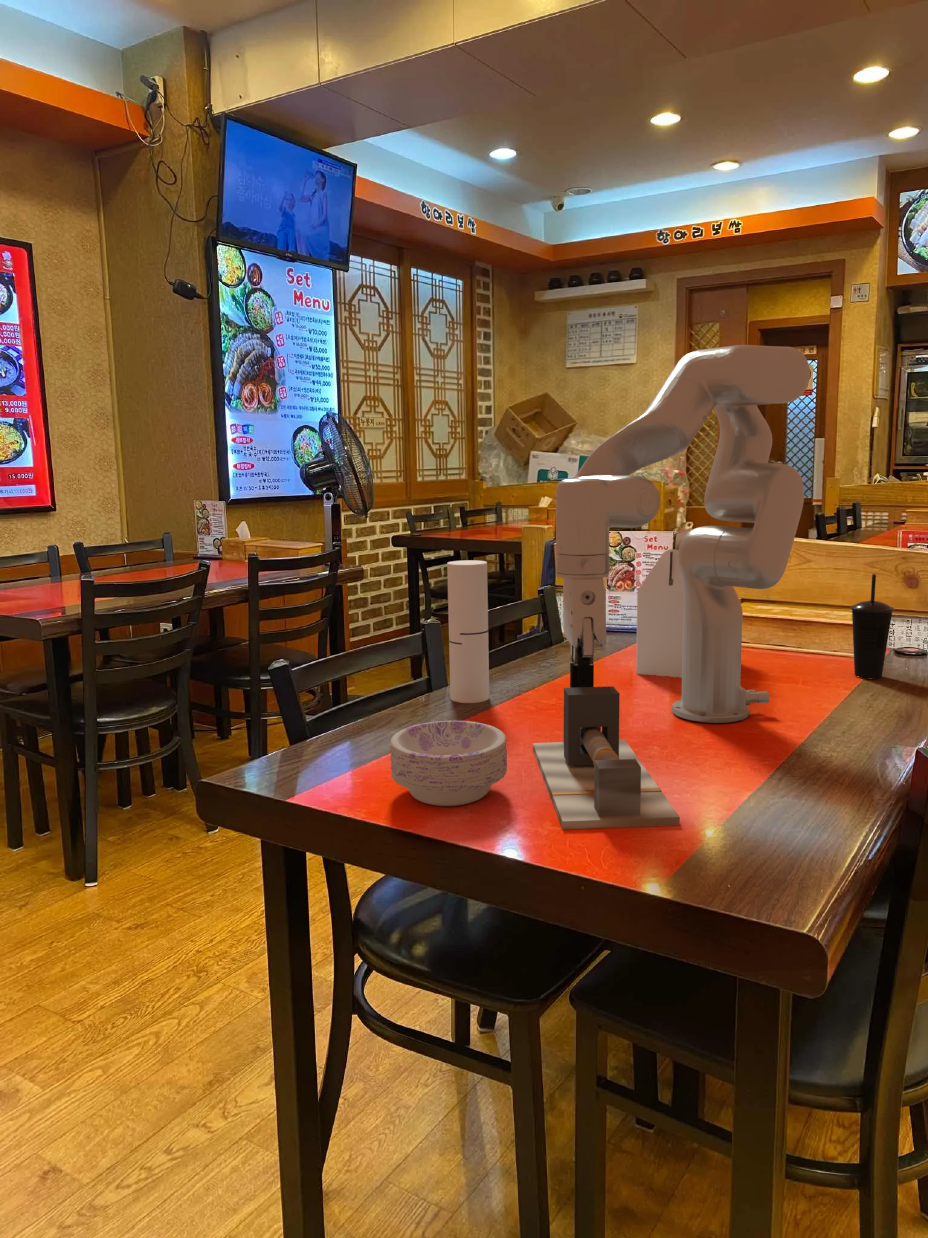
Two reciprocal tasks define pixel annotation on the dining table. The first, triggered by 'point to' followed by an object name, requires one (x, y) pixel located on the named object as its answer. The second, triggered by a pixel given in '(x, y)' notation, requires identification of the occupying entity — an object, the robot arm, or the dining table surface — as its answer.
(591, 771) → the pipe rig
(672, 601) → the gable box
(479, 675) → the cylindrical container
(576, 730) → the collar
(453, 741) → the paper bowls
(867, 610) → the drinking cup
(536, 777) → the dining table surface
